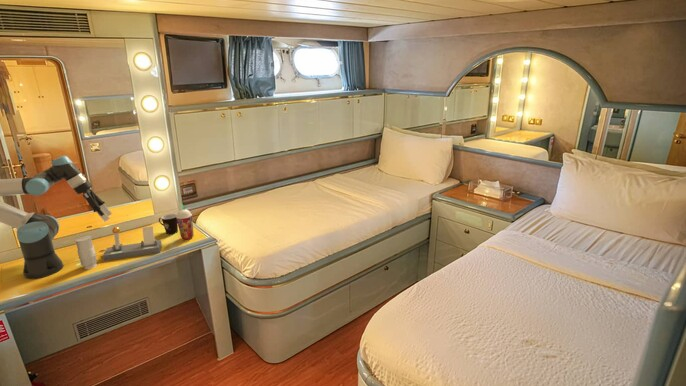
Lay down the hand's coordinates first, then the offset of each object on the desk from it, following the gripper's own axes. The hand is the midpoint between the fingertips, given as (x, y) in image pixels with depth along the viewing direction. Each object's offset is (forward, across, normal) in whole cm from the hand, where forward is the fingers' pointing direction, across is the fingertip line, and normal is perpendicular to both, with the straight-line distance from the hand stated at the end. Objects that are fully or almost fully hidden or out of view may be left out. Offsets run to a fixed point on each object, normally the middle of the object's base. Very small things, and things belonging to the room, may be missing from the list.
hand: (108, 217), depth 198 cm
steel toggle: (+15, -6, +5) cm, 17 cm away
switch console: (+21, -7, 0) cm, 22 cm away
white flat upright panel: (+22, -8, -8) cm, 25 cm away
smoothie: (+32, -1, -24) cm, 41 cm away
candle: (+14, -13, +18) cm, 26 cm away
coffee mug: (+28, +14, -18) cm, 36 cm away
